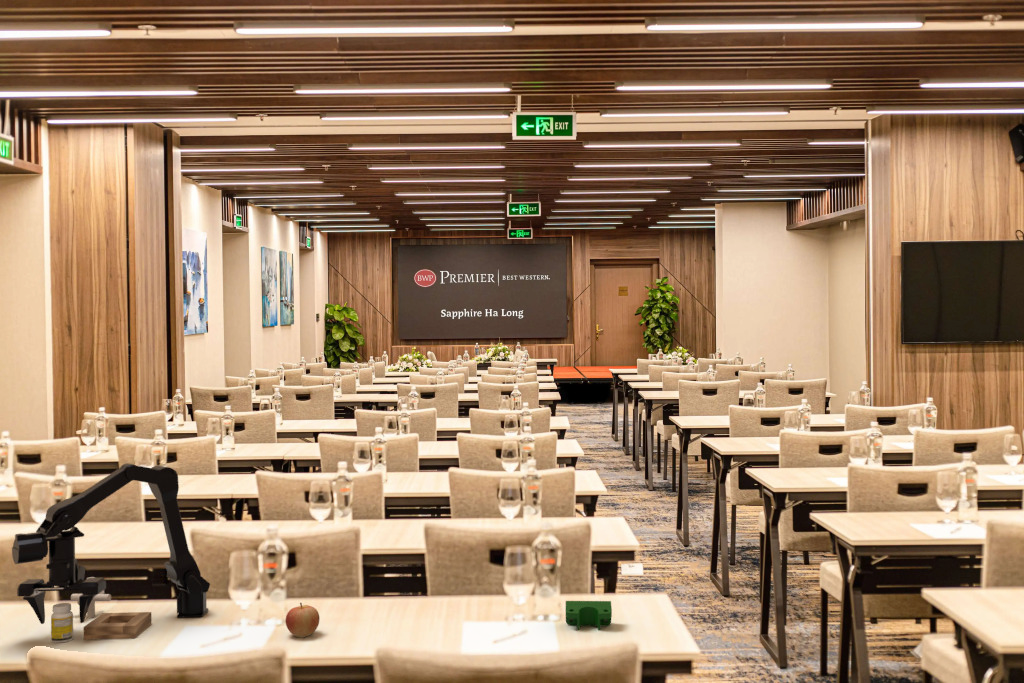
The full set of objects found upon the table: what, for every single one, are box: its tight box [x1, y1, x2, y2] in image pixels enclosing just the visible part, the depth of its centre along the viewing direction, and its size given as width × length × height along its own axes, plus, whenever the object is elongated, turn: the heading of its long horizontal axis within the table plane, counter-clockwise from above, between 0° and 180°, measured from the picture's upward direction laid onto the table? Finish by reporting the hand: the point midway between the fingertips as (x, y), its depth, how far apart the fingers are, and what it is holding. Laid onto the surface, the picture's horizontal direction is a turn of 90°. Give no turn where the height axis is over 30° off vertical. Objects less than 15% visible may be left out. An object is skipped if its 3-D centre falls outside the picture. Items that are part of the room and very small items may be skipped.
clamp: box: [565, 600, 613, 631], centre depth 234 cm, size 12×6×9 cm, turn 80°
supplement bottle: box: [50, 602, 74, 644], centre depth 228 cm, size 5×5×8 cm
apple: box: [285, 602, 320, 638], centre depth 230 cm, size 8×8×8 cm
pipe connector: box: [70, 576, 112, 619], centre depth 248 cm, size 10×10×10 cm
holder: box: [83, 611, 152, 640], centre depth 235 cm, size 12×12×3 cm
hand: (62, 623), depth 228 cm, fingers open, 9 cm apart
